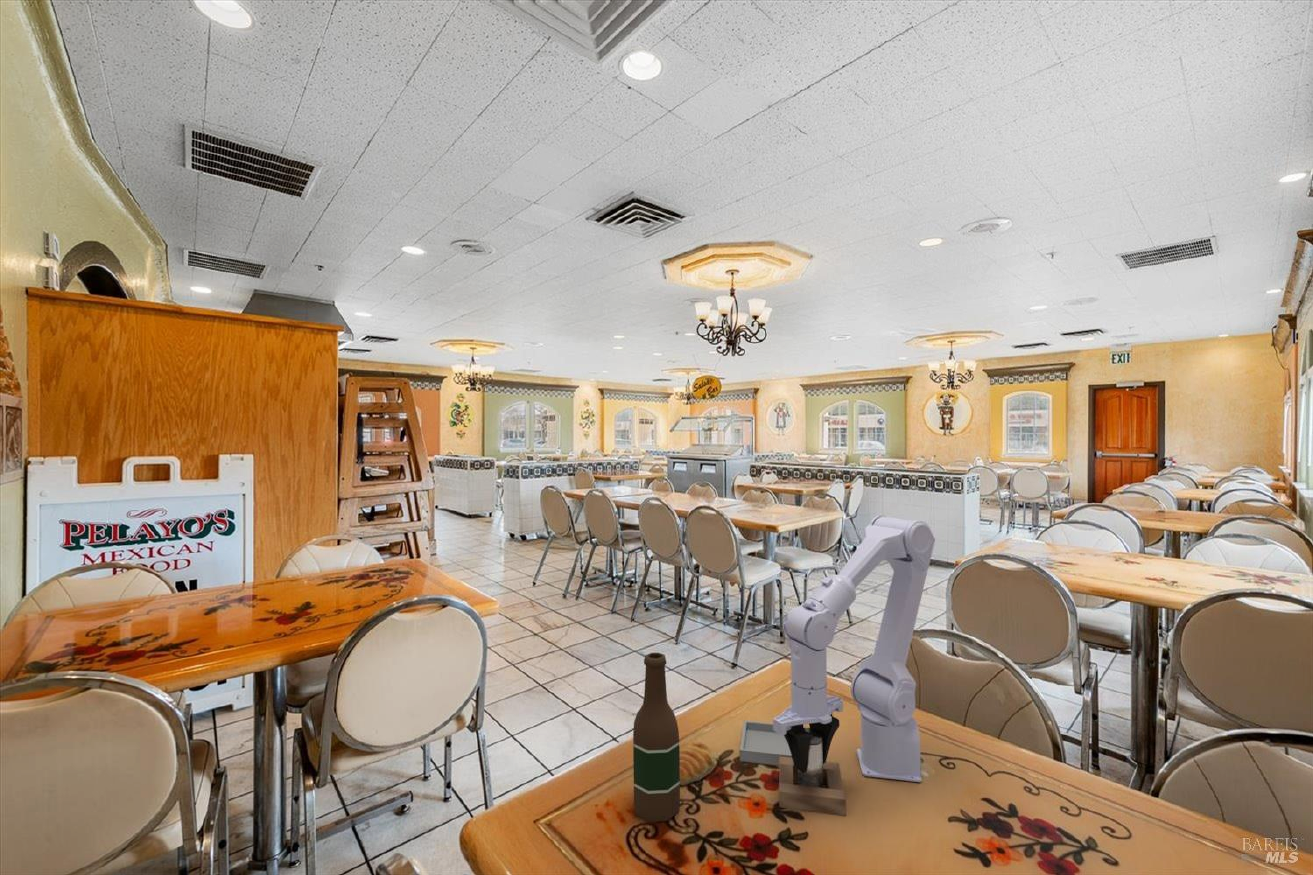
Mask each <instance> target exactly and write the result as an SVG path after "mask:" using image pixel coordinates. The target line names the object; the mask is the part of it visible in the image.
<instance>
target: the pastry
mask: <svg viewBox="0 0 1313 875" xmlns="http://www.w3.org/2000/svg"><path fill="white" fill-rule="evenodd" d="M717 764H718V762H717V759H716V757H715V754H714V753H713V752H712V750H711V747H710V746H709V745H707V744H705V743H704V742H702V741H699V742H695V741H692V742H691V743H690V744H688V745H687V746H686V747H683V748H682V749H680V786H687V785H689V784H691V783H694V782H699V781H701V780H702V779H704V778H705V777H707V776H708V775H710V774H711V773H712V772H713V771H714V770H715V768H716V767H717Z"/></svg>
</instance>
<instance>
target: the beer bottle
mask: <svg viewBox="0 0 1313 875" xmlns="http://www.w3.org/2000/svg"><path fill="white" fill-rule="evenodd" d="M643 659H644V660H643V661H644V662H643V664H644V665H645V678H644V695H643V696H644V697H643V701H642V705H641V707H640V708H639V710H638V711H637V713H636V714H635V718H634V721H633V733H632V740H633V741H632V744H633V746H632V747H633V749H632V750H633V752H632V753H633V754H632V755H633V757H632V758H633V759H632V760H633V763H632V764H633V767H632V768H633V806H634V808H633V809H634V813H635V815H636V816H638V817H640V819H643V820H645V821H646V822H648V823H658V822H659V823H660V822H668V821H670V820H671V819H672V818H673V817H674V816H675V815H677V814H678V813H679V811H680V809H681V807H680V806H681V804H680V803H681V785H680V750H681V748H680V746H681V745H680V733H679V725H678V720H677V718H676V714H675V712H674V710H673V708H672V707H671V706H670V705H669V702H668V693H667V682H666V678H667V677H666V665H667V659H666V655H665V654H663V653H661V652H649V653H648V654H645V655H644V658H643Z"/></svg>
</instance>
